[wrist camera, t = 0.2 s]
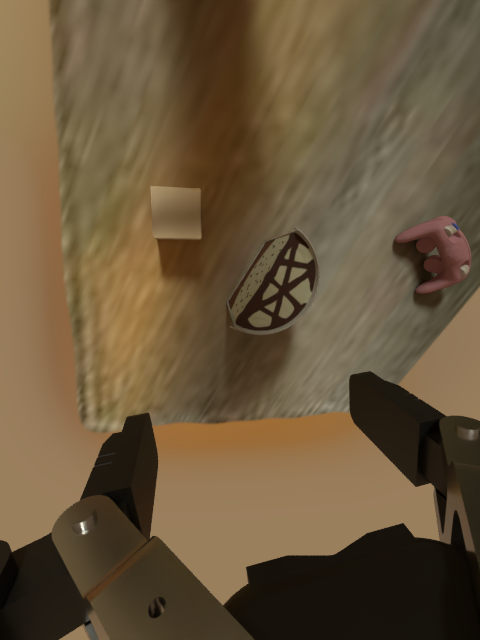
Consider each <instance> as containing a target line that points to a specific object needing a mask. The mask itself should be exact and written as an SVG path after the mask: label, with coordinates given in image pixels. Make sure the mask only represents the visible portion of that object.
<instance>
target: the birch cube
mask: <svg viewBox="0 0 480 640" xmlns="http://www.w3.org/2000/svg"><path fill="white" fill-rule="evenodd" d="M150 187H151V206H152V226H153V238H155V239H170V240H200V239H201V189H199V188H180V187H161V186H150Z"/></svg>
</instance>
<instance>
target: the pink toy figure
mask: <svg viewBox="0 0 480 640" xmlns="http://www.w3.org/2000/svg"><path fill="white" fill-rule="evenodd" d="M419 238H420V239H419ZM416 239H419V240H418V241H417V243H416V248H417V250H418V251H419V252H421V253H429V252H431V251H432V250H433V249H434V248H435V247H437V249H438V252H439V255H440V256H439V255H432V256H430V257H428V258H427V259H426V260H425V262H424V268H425V270H427V271H429V272H433V273H437V274H438V275H437V276H435V277H434V278H433V279H431V280H428V281H426V282H424V283H423V284H421V285H419V286H418V287H417V288H416V292H417V293H419V294H426V293H431V292H434V291H437V290H440V289H443V288H446V287H449V286H452V285H454V284H457V283H459V282H461V281H462V280H463V279H465V278H466V276H467V275H468V273H469V271H470V265H471V252H470V248H469V244H468V242H467V239H466V238H465V236H464V234H463V233H462V231H461V230H460V229H459V227H458V226H457V224H456V222H455V221H454V220H453V219H452V218H450V217H447V216H440V217H437V218H434V219H433V220H431V221H427V222H424V223H421V224H419V225H416V226H414V227H411V228H409V229H407V230H405V231H404V232H402V233H400V234H399V235H398V236H396V238H395V242H396V243H406V242H409V241H412V240H416Z"/></svg>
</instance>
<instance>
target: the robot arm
mask: <svg viewBox="0 0 480 640" xmlns="http://www.w3.org/2000/svg"><path fill="white" fill-rule="evenodd" d="M349 395H350V414H351V417H352V419H353V421H354V423H355V424H356V425H357V427H359V429H361V431H362V432H363V433H364V434H365V435H366V436H367V437H368V438H369V439H370V440H371V441H372V442H373V443H374V444H375V445H376V446H377V447H378V448H379V449H380V450H381V451H382V452H383V453H384V454H385V456H386V457H388V459H389V460H390V461H391V462H392V463H393V464H394V465H395V466H396V467H397V468H398V469H399V470H400V471H401V472H402V473H403V474H404V475H405V476H406V477H407V478H408V479H409V480H410V481H411V482H412V483H413V484H414V485H415V486H416V487H417V486H421V485H425V484H429V483H431V484H432V485H434V502H435V510H436V517H437V524H438V532H439V539H440V541H436V540H432V539H426V538H415V537H414V536H413V535H412V533H411V532H410V531H409V530H408V528H407V527H406V526H405V525H404V524H403V523H402V524H399V525H395V526H391V527H388V528H384V529H381V530H377V531H373V532H370V533H367V534H365V535H364V536H362V537H361V538H359V539H358V540H356V541H355V542H353V543H352V544H350V545H349V546H347V547H346V548H344V549H343V550H341V551H340V552H338V553H337V554H335V555H329V556H284V557H280V558H277V559H273V560H269V561H266V562H262V563H259V564H255V565H252V566H248V567H246V570H247V577H248V584H247V585H246V586H244V587H243V588H241V589H240V590H239V591H238V592H236V593H235V594H234V595H233V596H232V597H231V598H230V599H229V600H228V601H227V602H226V603H225V604H224V605H222V604H221V603H220V602H219V601H218V600H217V599H216V598H215V597H214V596H213V595H212V594H211V593H210V591H209V590H208V589H207V588H206V587H205V586H204V585H203V584H202V583H201V582H200V581H199V580H198V579H197V578H196V577H195V576H194V575H193V573H192V572H191V571H190V570H189V569H188V568H187V567H186V566H185V565H184V564H183V563H182V562H181V561H180V560H179V558H178V557H177V556H176V555H175V554H174V553H173V552H172V551H171V550H170V549H169V548H168V547H167V546H166V544H165V543H164V542H163V541H162V540H161V539H159V538H158V537H156V536H153V537H151V538H150V531H151V522H152V513H153V505H154V496H155V488H156V478H157V471H158V453H157V448H156V442H155V438H154V433H153V428H152V423H151V419H150V415H149V413H144V414H139V415H133V416H128V417H127V418H126V421H125V424H124V427H123V430H122V432H119V433H114V434H112V435H111V436H110V437H109V438H108V439H107V440H106V441H105V443H104V444H103V445H102V448H101V450H100V452H99V455H98V458H97V460H96V462H95V466H94V468H93V469H92V472H91V474H90V477H89V479H88V482H87V484H86V487H85V489H84V491H83V494H82V496H81V499H80V501H78V502H76V503H75V504H73V505H72V506H70V507H69V508H68V509H67V510H66V511H64V512H63V513H62V514H61V516H60V517H59V518H58V519H57V521H56V523H55V524H54V526H53V529H52V532H51V533H50V534H48V535H46V536H44V537H43V538H41V539H39V540H37V541H34V542H32V543H30V544H28V545H26V546H24V547H22V548H20V549H18V550H16V551H14V552H12V551H11V549H10V546H9V544H8V543H7V542H5V541H1V540H0V640H59V639H60V638H62V637H63V636H65V635H67V634H68V633H70V632H71V631H73V630H75V629H76V628H78V627H79V626H81V625H82V626H83V628H84V630H85V632H86V634H87V636H88V638H89V640H480V421H478V420H476V419H472V418H468V417H464V416H445V415H444V414H442V413H441V412H439V411H438V410H436V409H434V408H433V407H431V406H430V405H428V404H427V403H425V402H424V401H422V400H420V399H418V397H416V396H414V395H413V394H410V393H409V392H408V391H407V390H405V389H404V388H402V387H400V386H399V385H396V384H393V383H391V382H388V381H384V380H383V379H381V378H380V377H378V376H377V375H375V374H374V373H372V372H370V371H368V372H363V373H358V374H353V375H351V376H350V379H349Z"/></svg>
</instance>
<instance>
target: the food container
mask: <svg viewBox="0 0 480 640" xmlns="http://www.w3.org/2000/svg"><path fill="white" fill-rule="evenodd" d="M293 228H294V229H295V230H293V231H290V232H288V233H285V234H282V235H279V236H277V237H274V238H271V239H268V240H266V241H265V242H264V243H263V245H262V247H261V248H260V250H259V251H258V253H257V254H256V256H255V258H254V259H253V261H252V262H251V264H250V266H249V267H248V269H247V270H246V272H245V273H244V275H243V277H242V278H241V280H240V281H239V283H238V284H237V286H236V288H235V289H234V291H233V292H232V294H231V296H230V297H229V299H228V300H227V302H226V303H227V306H228V309H229V312H230V315H231V318H232V321H233V325H234V326H230V328H232V329H234V330H237V331H239V332H243V333H246V334H251V335H269V334H275V333H278V332H281V331H283V330H285V329H287V328H289V327H291V326H292V325H293V324H295V323H296V322H298V321H299V320H300V319H301V318H302V317H303V316H304V315H305V313H306V312H307V311H308V310H309V308H310V307H311V305H312V303H313V301H314V299H315V296H316V294H317V290H318V286H319V279H320V270H319V263H318V258H317V255H316V252H315V250H314V247H313V246H312V244H311V242H310V240H309V239H308V238H307V237H306V235H305V234H304V233H303V232H302V231H301V230H300V229H299V228H298V227H295V226H293Z"/></svg>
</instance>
